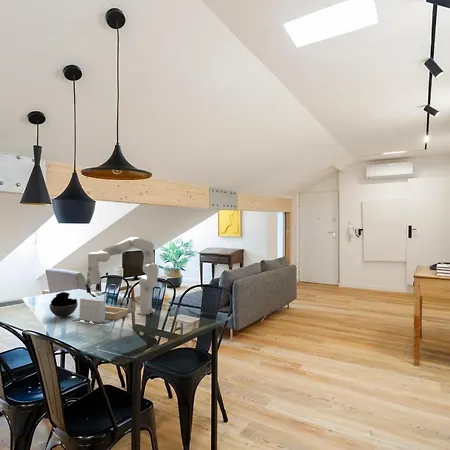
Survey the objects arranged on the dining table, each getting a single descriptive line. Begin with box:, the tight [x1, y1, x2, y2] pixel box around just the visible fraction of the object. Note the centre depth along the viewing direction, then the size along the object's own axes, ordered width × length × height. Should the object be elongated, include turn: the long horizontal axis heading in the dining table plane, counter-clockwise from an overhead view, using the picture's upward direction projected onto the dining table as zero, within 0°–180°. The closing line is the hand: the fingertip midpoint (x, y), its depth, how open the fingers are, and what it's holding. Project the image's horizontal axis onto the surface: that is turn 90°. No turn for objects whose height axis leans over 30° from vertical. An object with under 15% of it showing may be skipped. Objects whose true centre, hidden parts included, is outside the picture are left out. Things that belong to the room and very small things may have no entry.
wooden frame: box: [105, 305, 129, 321], centre depth 270 cm, size 27×19×5 cm
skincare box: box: [78, 297, 107, 323], centre depth 253 cm, size 21×6×16 cm, turn 67°
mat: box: [72, 317, 112, 325], centre depth 253 cm, size 27×11×1 cm, turn 69°
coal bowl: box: [49, 291, 79, 318], centre depth 264 cm, size 20×20×19 cm
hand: (93, 291), depth 254 cm, fingers open, 9 cm apart
